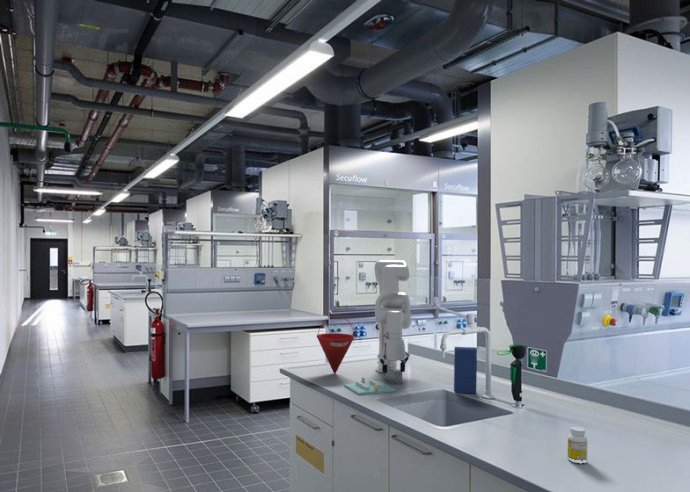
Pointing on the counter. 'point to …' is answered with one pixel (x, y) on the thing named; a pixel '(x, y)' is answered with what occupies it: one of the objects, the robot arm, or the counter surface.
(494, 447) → the counter surface
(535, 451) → the counter surface
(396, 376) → the block
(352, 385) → the docking tray
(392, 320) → the robot arm
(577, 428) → the supplement bottle
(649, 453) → the counter surface
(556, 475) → the counter surface
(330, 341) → the fire bucket
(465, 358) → the electronic device
